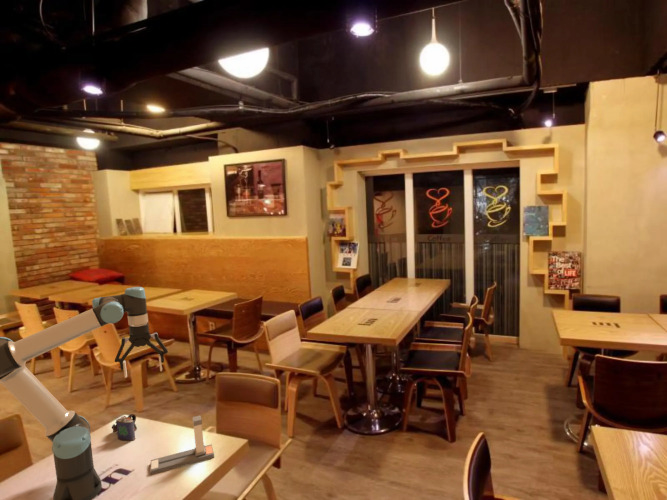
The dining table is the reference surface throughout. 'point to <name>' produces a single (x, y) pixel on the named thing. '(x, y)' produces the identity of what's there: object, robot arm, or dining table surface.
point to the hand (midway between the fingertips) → (143, 373)
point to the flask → (125, 429)
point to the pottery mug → (126, 419)
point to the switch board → (179, 459)
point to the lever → (198, 436)
